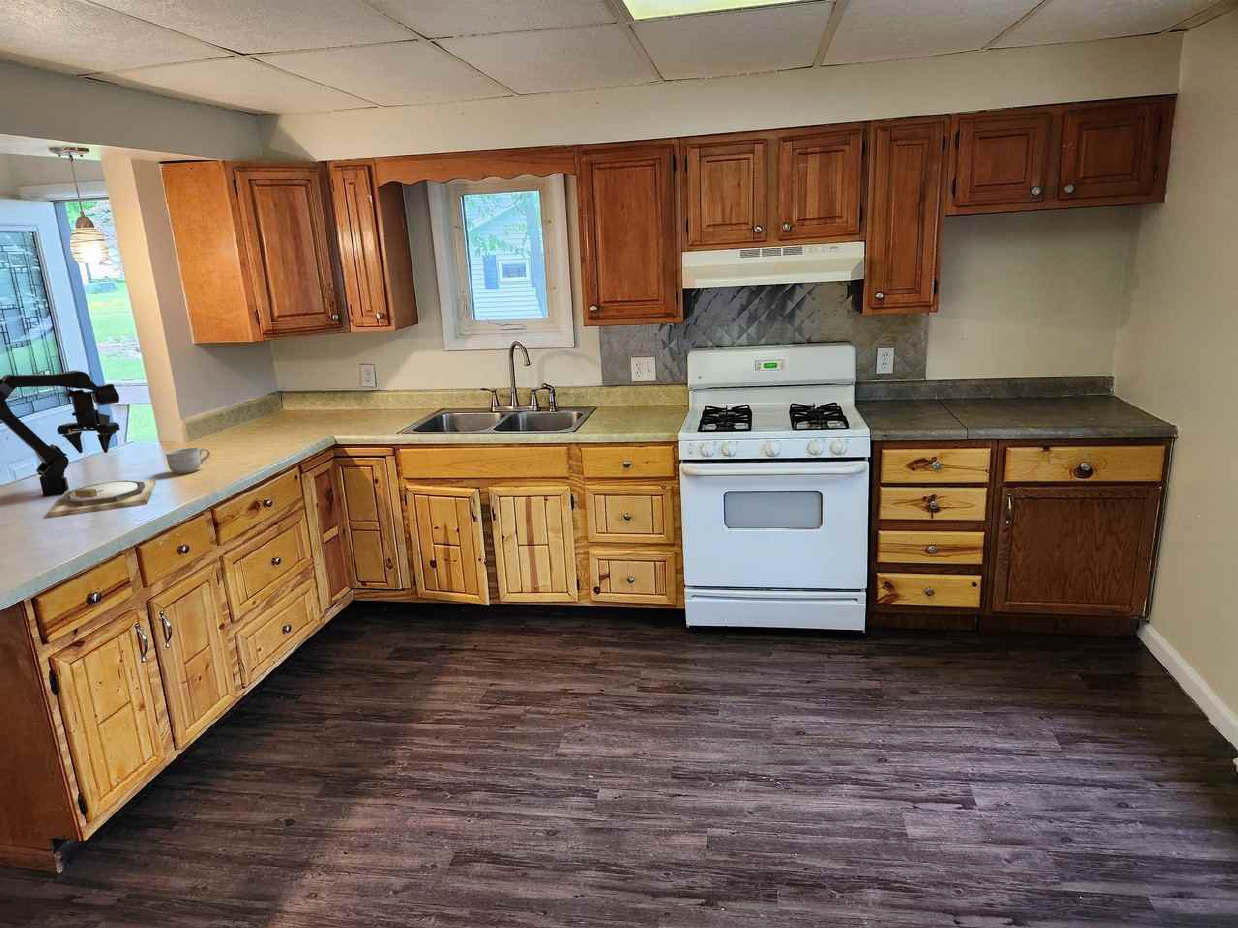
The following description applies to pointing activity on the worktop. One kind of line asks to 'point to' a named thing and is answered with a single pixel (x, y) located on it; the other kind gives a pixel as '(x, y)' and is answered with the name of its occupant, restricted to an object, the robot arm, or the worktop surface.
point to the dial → (103, 490)
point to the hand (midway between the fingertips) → (93, 452)
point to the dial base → (103, 500)
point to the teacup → (186, 459)
